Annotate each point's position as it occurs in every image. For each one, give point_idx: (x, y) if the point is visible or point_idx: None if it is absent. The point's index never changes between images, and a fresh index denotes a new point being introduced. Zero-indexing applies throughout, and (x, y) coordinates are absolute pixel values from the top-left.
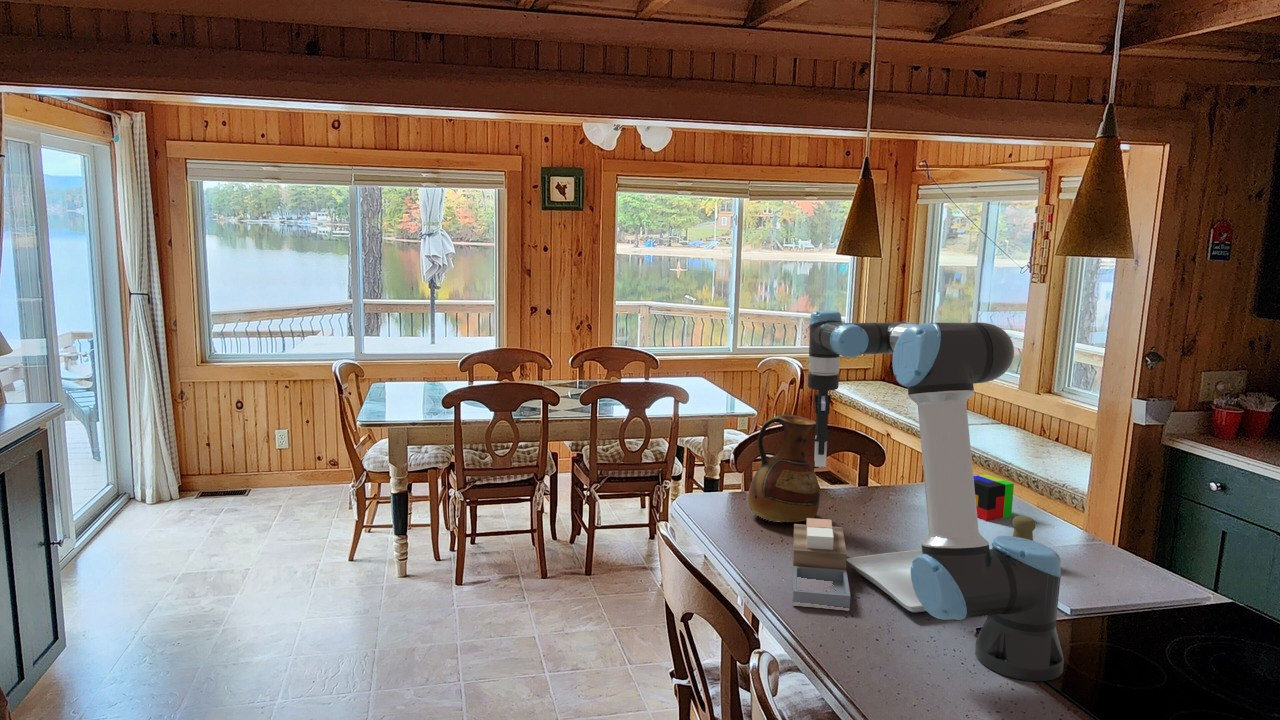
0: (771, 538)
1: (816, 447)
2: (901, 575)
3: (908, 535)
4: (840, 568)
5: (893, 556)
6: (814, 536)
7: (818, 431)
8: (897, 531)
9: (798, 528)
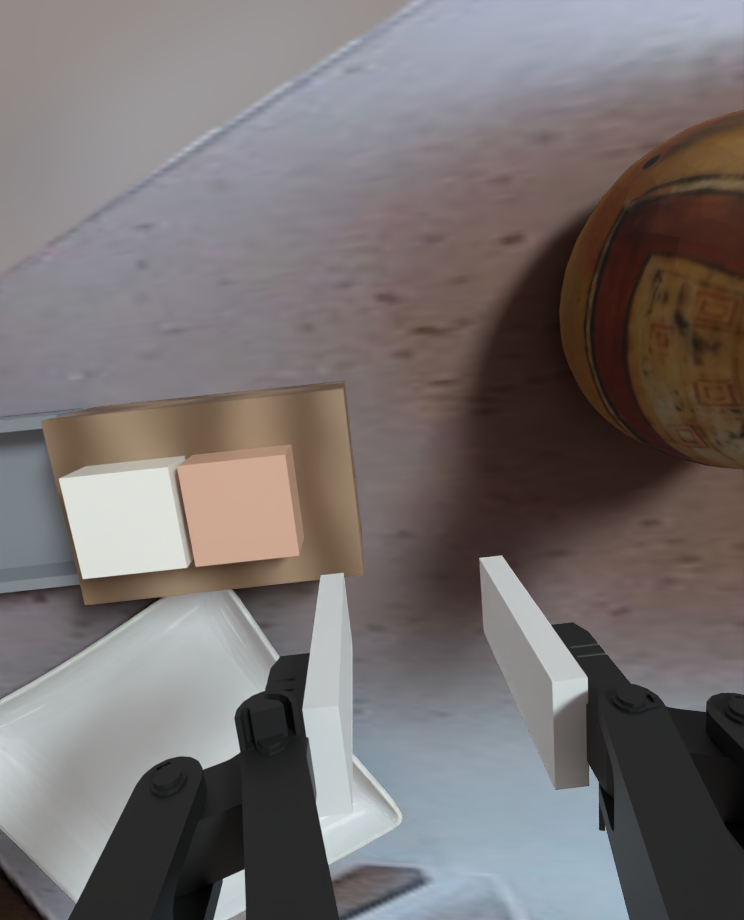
0: (439, 288)
1: (308, 672)
2: (226, 706)
3: None
4: None
5: None
6: (65, 506)
7: (87, 904)
8: None
9: (292, 413)
